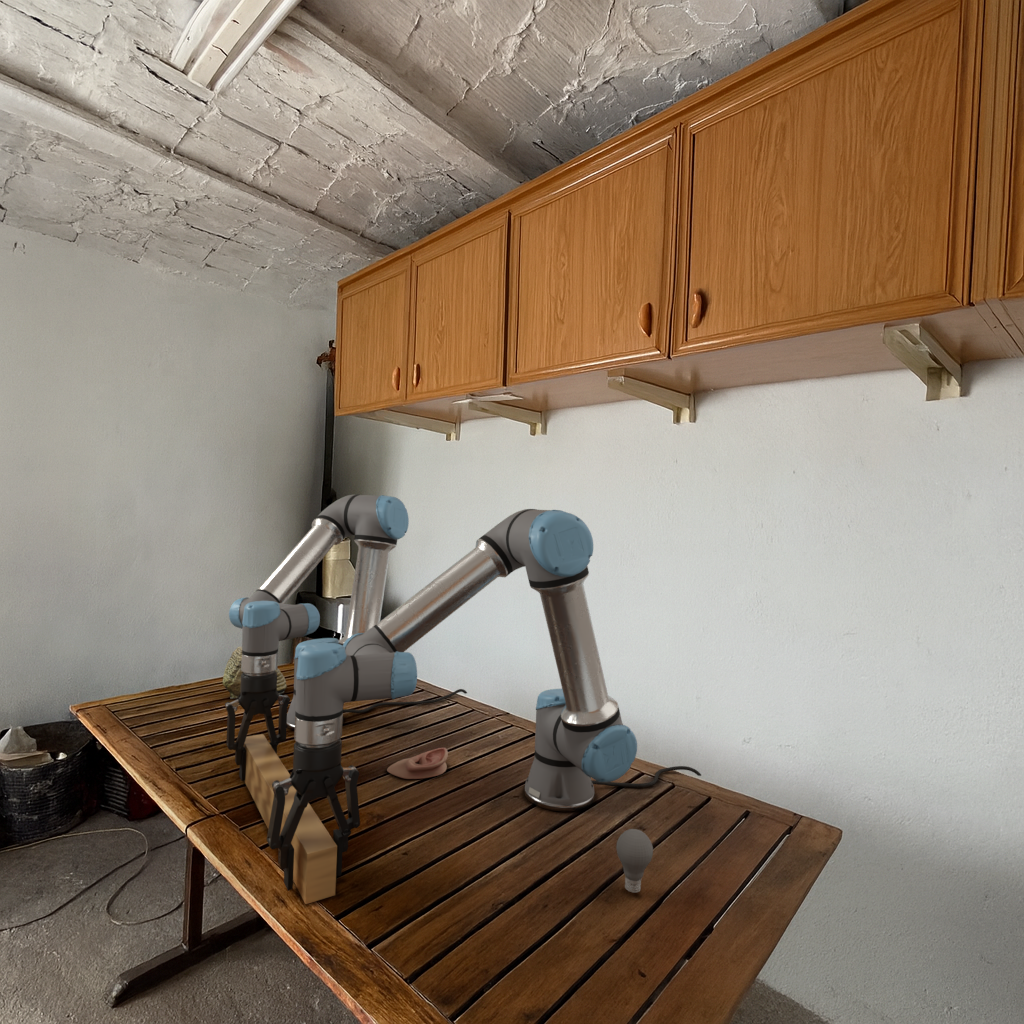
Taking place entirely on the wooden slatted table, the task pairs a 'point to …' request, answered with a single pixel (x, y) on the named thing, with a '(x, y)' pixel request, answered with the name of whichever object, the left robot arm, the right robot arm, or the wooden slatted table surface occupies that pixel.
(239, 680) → the fossil
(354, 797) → the right robot arm
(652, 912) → the wooden slatted table surface
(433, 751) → the anatomical model
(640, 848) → the light bulb
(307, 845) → the bar
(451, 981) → the wooden slatted table surface
